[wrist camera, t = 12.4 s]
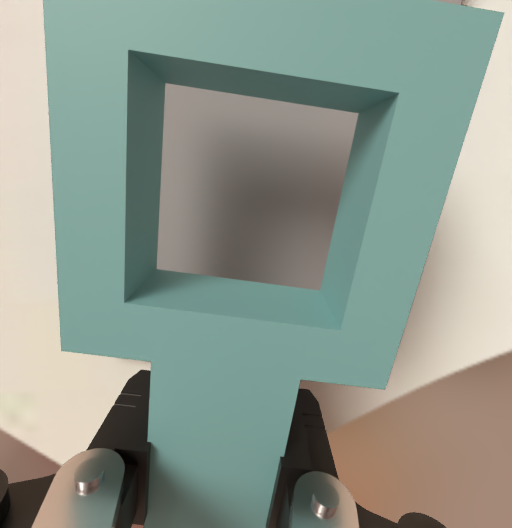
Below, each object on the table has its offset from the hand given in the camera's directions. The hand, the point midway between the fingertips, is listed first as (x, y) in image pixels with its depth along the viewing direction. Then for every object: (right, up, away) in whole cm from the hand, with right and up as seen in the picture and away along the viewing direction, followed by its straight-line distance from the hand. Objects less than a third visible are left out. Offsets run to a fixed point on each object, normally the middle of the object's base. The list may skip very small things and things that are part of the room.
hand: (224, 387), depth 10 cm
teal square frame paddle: (0, +3, -2) cm, 4 cm away
